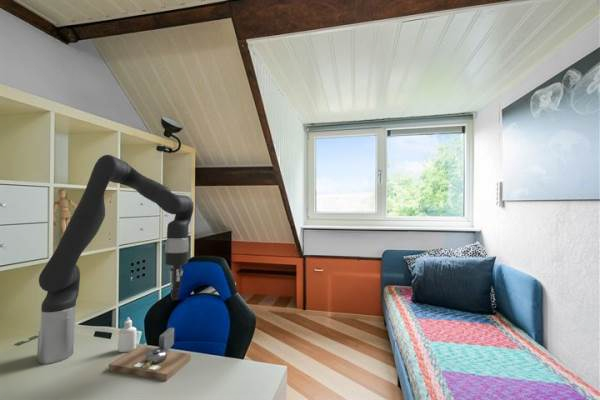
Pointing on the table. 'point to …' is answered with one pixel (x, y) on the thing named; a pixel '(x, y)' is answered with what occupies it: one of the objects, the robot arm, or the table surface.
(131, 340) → the eye dropper bottle
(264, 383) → the table surface
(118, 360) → the stand
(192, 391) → the table surface
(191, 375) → the table surface
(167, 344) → the lever
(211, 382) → the table surface
